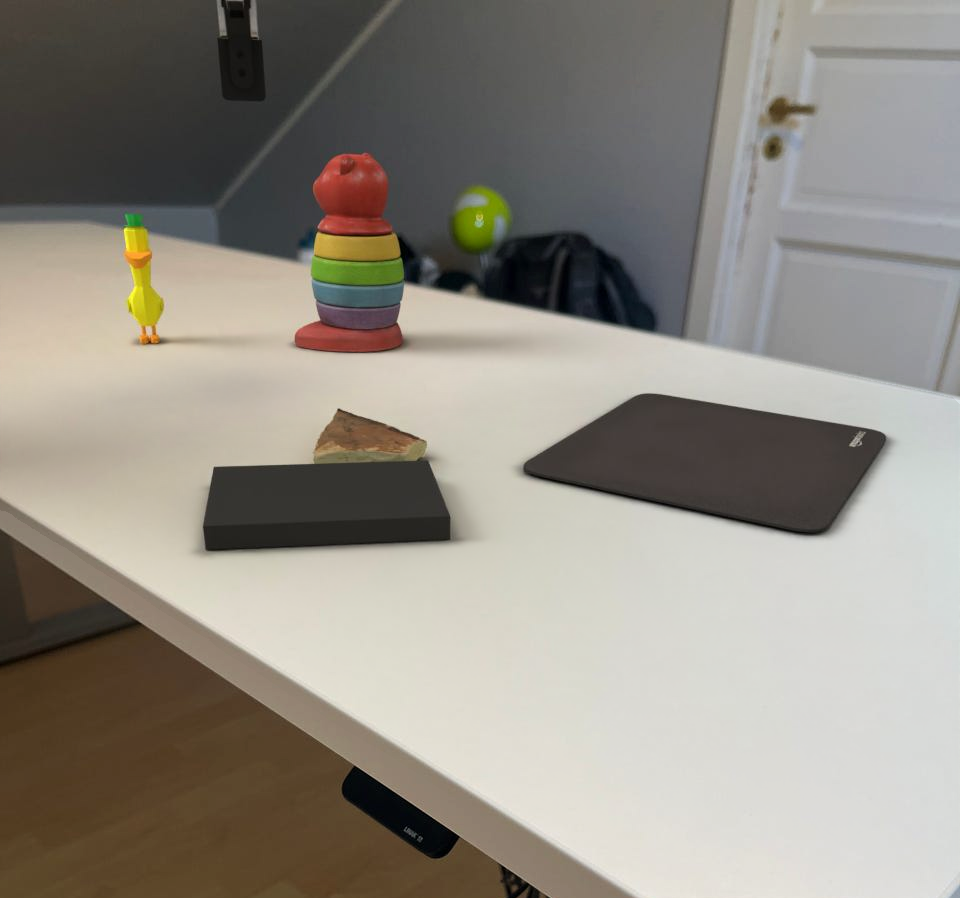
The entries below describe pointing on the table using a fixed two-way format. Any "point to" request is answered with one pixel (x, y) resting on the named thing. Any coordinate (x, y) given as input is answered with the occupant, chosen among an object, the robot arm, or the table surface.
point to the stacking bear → (354, 261)
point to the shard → (365, 441)
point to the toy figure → (141, 278)
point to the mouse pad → (717, 460)
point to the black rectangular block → (324, 505)
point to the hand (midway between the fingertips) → (244, 100)
